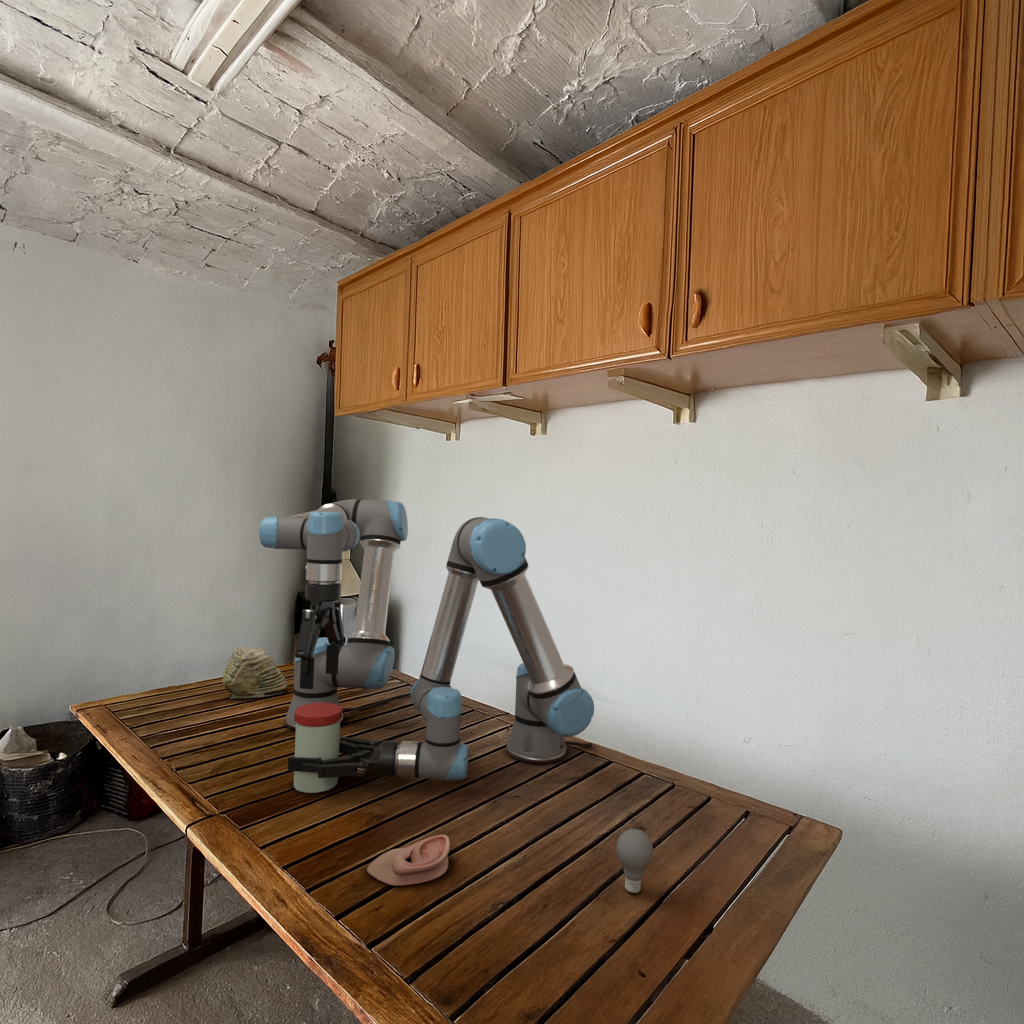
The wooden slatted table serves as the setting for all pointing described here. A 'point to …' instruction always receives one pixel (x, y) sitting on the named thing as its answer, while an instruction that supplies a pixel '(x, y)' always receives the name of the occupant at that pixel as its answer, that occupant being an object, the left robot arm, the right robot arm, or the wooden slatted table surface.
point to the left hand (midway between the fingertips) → (319, 680)
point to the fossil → (252, 674)
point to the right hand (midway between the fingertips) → (296, 754)
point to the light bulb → (634, 857)
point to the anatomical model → (412, 862)
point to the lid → (318, 714)
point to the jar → (316, 754)
